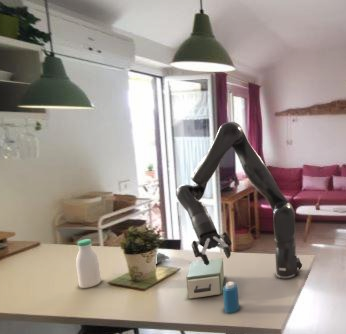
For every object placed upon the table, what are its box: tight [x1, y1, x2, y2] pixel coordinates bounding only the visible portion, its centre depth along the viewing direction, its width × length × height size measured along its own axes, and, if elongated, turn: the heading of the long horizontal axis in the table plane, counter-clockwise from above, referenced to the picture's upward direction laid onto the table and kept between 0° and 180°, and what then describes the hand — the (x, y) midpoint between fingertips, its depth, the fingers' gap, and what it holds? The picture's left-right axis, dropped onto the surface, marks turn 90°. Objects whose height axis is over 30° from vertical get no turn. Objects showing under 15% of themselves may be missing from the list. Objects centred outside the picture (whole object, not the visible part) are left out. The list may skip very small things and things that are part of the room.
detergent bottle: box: [222, 281, 240, 314], centre depth 126 cm, size 5×5×10 cm
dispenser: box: [185, 257, 225, 300], centre depth 142 cm, size 15×13×9 cm
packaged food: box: [156, 251, 170, 265], centre depth 167 cm, size 9×12×5 cm
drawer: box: [186, 275, 221, 300], centre depth 138 cm, size 18×12×7 cm, turn 16°
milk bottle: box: [75, 238, 102, 289], centre depth 145 cm, size 8×8×20 cm
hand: (218, 260), depth 130 cm, fingers open, 8 cm apart
